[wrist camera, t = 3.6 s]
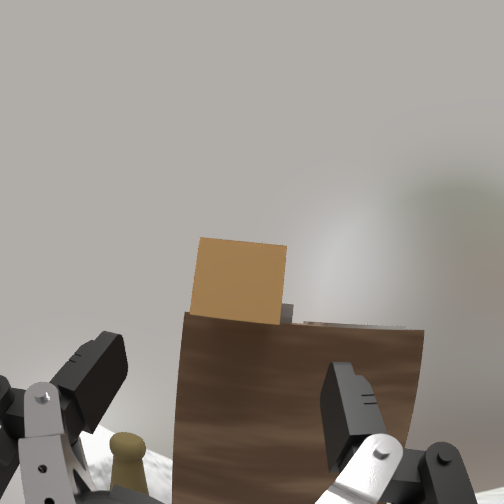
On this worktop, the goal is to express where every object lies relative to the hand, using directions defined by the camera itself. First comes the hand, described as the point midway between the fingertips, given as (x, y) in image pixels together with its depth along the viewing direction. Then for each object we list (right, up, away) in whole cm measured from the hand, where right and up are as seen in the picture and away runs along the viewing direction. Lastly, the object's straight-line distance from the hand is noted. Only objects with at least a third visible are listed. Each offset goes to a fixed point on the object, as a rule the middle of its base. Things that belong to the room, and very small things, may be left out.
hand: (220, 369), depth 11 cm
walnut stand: (+3, -32, +11) cm, 34 cm away
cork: (-17, -31, +19) cm, 40 cm away
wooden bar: (0, -1, +15) cm, 15 cm away
